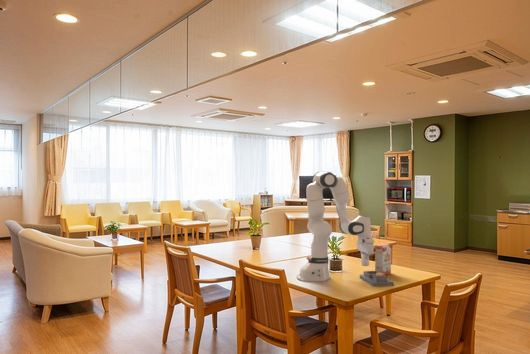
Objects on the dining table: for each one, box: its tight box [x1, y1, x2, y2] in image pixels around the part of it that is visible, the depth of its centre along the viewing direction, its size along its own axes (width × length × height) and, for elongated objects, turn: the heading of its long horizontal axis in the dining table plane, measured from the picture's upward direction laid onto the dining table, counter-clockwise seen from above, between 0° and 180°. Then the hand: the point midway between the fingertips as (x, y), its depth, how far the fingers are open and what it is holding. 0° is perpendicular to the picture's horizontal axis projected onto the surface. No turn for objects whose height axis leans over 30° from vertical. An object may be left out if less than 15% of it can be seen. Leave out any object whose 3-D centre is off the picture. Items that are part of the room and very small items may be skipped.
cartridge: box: [360, 251, 370, 267], centre depth 270 cm, size 5×5×10 cm
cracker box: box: [374, 242, 392, 276], centre depth 270 cm, size 14×6×21 cm, turn 139°
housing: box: [359, 270, 395, 287], centre depth 252 cm, size 14×20×6 cm
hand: (365, 258), depth 270 cm, fingers closed on cartridge, 5 cm apart
